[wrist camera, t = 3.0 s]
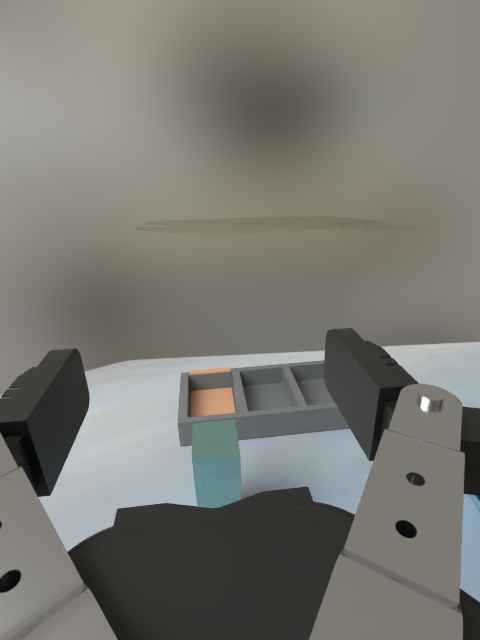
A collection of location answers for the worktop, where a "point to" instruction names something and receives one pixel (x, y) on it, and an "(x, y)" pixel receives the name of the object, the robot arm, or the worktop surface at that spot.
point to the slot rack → (259, 400)
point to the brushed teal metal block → (216, 463)
